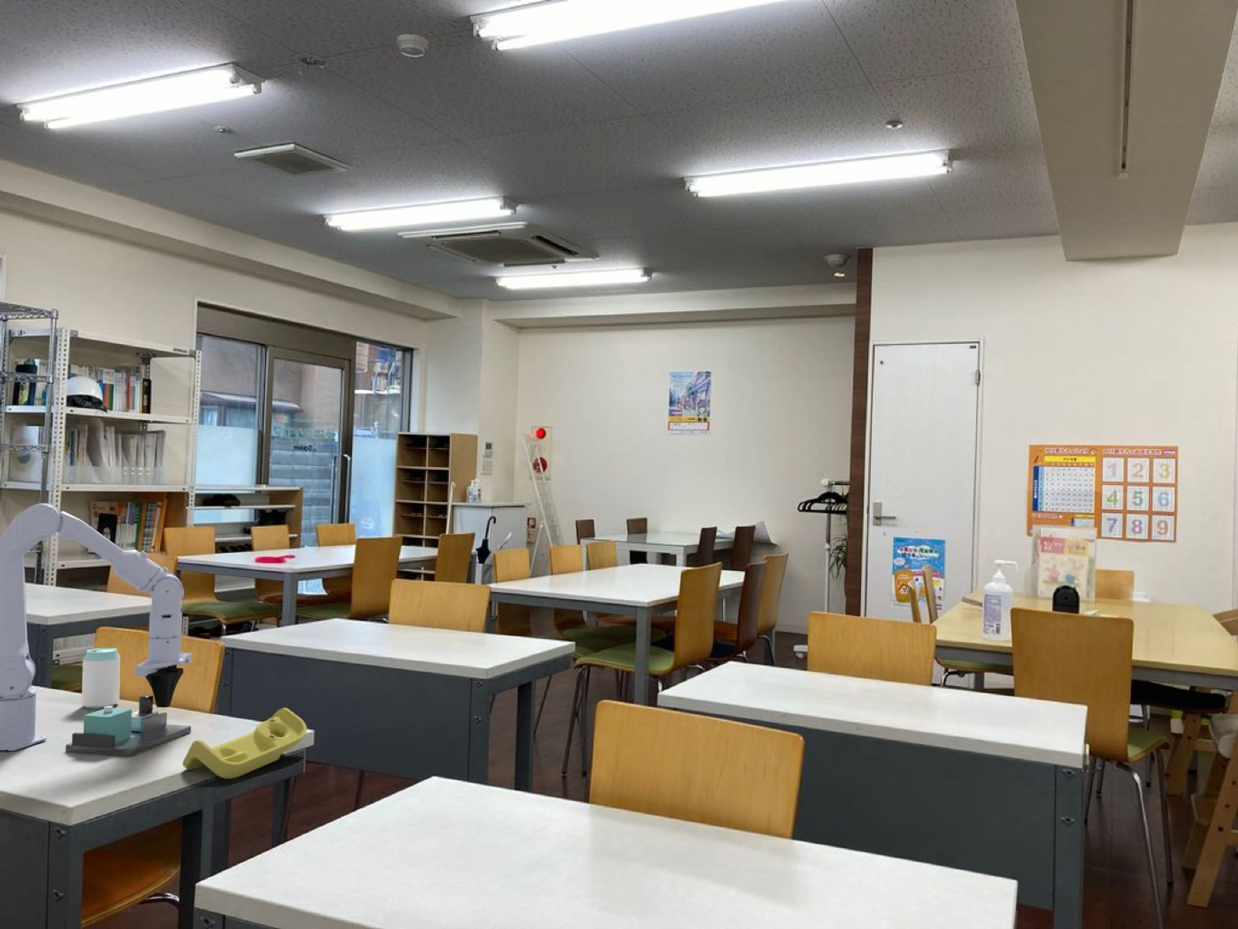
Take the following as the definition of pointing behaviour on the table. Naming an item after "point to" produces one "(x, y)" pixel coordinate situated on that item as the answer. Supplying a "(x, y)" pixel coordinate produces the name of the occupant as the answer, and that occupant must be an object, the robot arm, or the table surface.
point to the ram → (143, 711)
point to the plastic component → (249, 747)
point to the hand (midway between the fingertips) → (163, 706)
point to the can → (101, 678)
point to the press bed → (148, 736)
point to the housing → (109, 722)
